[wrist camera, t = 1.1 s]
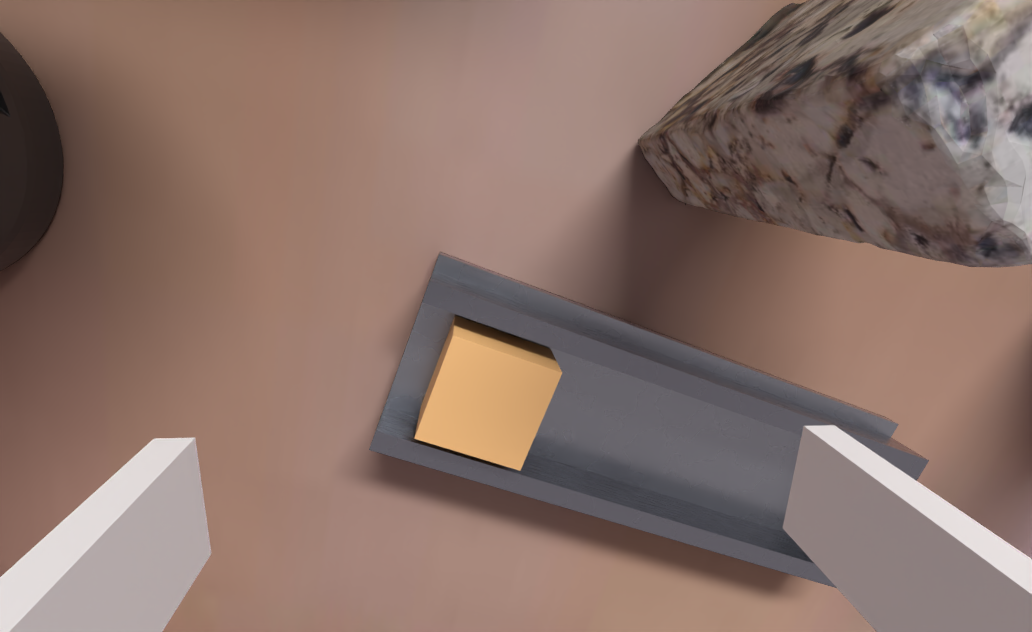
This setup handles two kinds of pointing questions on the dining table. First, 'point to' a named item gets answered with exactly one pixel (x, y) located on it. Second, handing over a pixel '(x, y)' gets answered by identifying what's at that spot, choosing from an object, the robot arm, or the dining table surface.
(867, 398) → the dining table surface
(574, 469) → the chute
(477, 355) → the block
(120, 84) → the dining table surface
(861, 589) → the robot arm
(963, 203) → the stone block
